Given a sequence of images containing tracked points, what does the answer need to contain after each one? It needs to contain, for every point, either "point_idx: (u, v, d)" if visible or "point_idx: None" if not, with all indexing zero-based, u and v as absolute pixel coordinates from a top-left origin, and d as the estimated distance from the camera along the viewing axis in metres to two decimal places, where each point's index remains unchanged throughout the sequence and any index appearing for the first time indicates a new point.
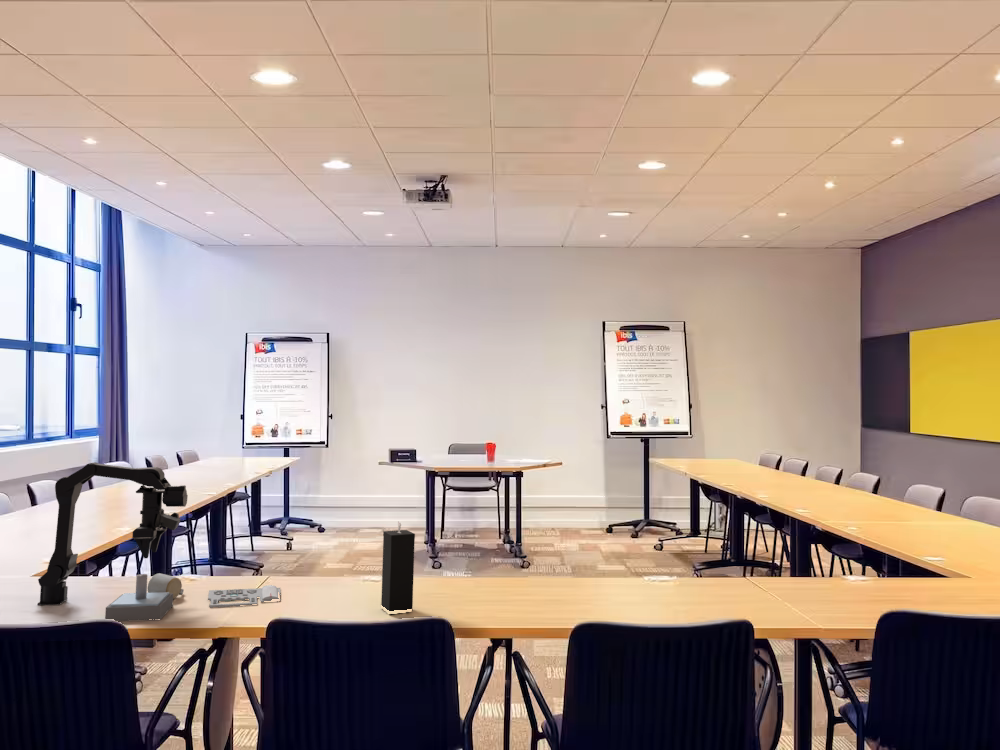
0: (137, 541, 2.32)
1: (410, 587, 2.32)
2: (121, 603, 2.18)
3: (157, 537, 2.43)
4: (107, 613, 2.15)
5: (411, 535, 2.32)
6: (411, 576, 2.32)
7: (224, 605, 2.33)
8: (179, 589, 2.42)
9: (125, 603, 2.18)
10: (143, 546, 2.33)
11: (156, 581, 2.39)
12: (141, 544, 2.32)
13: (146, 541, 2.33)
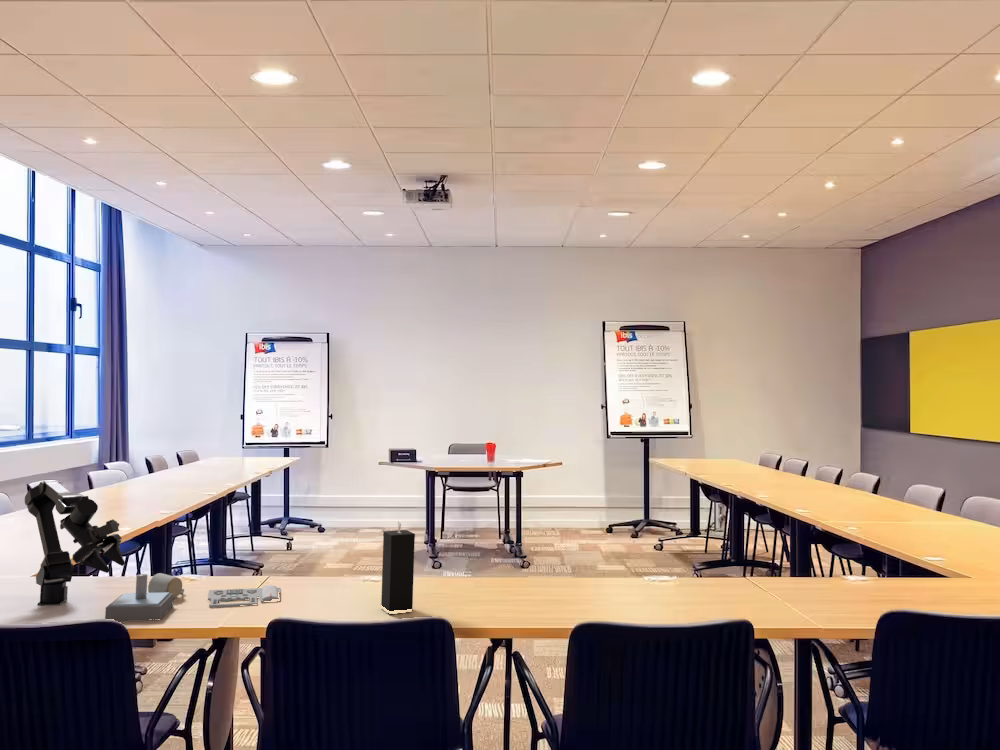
0: (86, 564, 2.18)
1: (410, 587, 2.32)
2: (121, 603, 2.18)
3: (115, 551, 2.29)
4: (107, 613, 2.15)
5: (411, 535, 2.32)
6: (411, 576, 2.32)
7: (224, 605, 2.33)
8: (180, 589, 2.42)
9: (125, 603, 2.18)
10: (96, 564, 2.19)
11: (157, 581, 2.39)
12: (92, 564, 2.18)
13: (94, 558, 2.19)
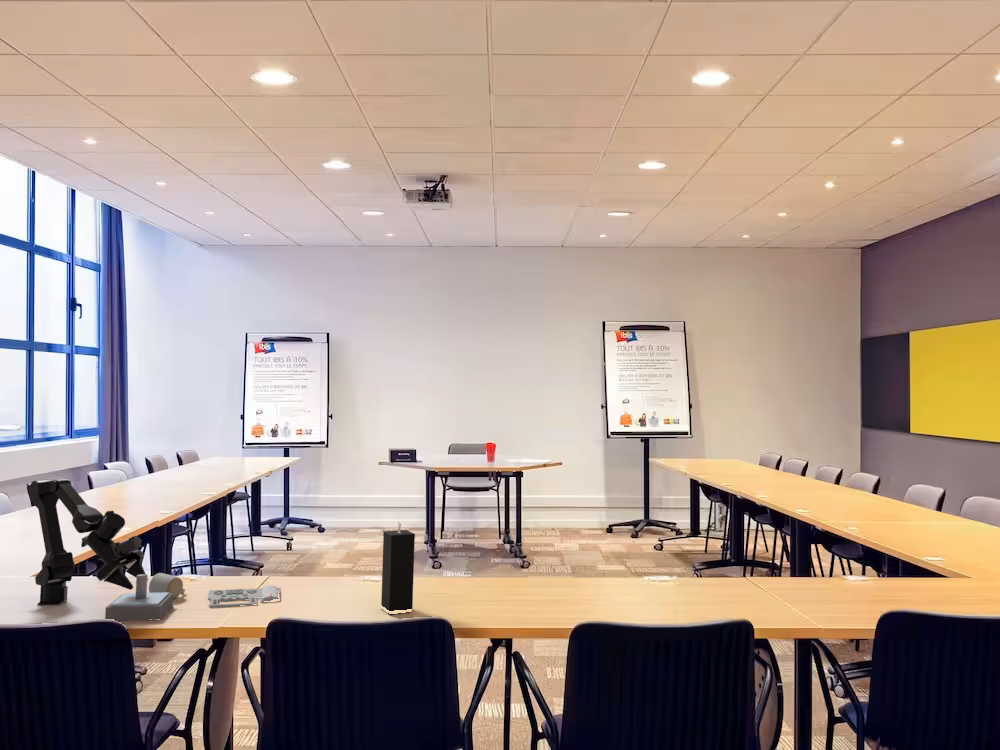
0: (110, 581, 2.17)
1: (410, 587, 2.32)
2: (121, 603, 2.18)
3: (138, 568, 2.29)
4: (107, 613, 2.15)
5: (411, 535, 2.32)
6: (411, 576, 2.32)
7: (224, 605, 2.33)
8: (180, 589, 2.43)
9: (125, 603, 2.18)
10: (120, 581, 2.18)
11: (157, 581, 2.40)
12: (116, 581, 2.18)
13: (118, 575, 2.18)
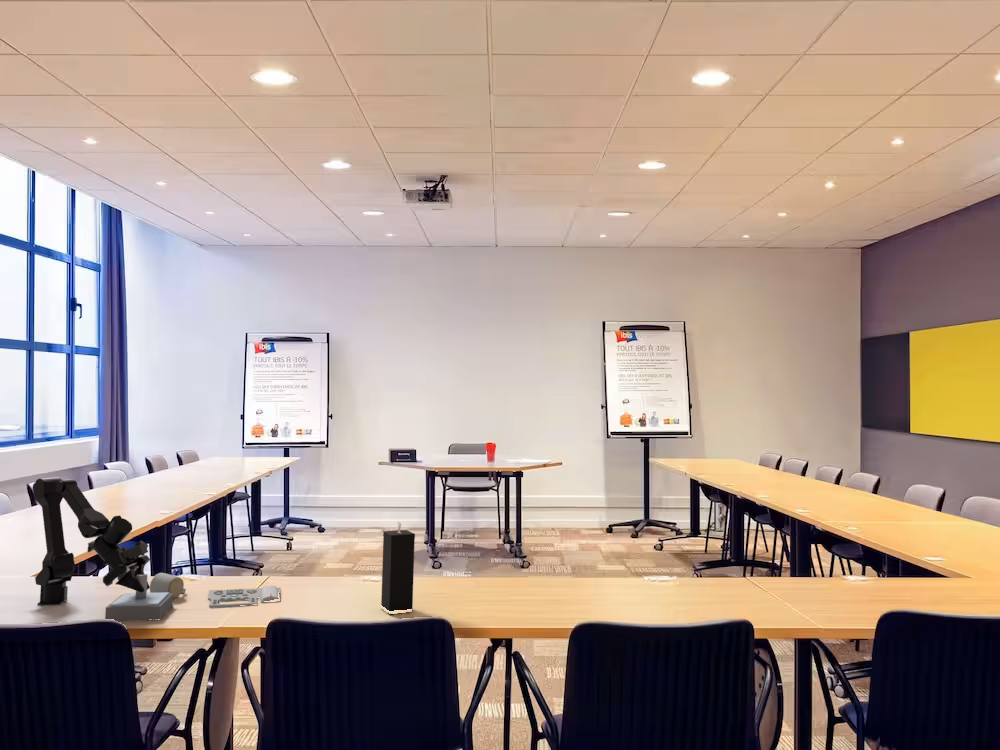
0: (121, 584, 2.20)
1: (410, 587, 2.32)
2: (121, 603, 2.18)
3: None
4: (107, 613, 2.15)
5: (411, 535, 2.32)
6: (411, 576, 2.32)
7: (224, 605, 2.33)
8: (181, 588, 2.43)
9: (125, 603, 2.18)
10: (131, 584, 2.21)
11: (158, 580, 2.40)
12: (127, 583, 2.21)
13: (129, 578, 2.21)
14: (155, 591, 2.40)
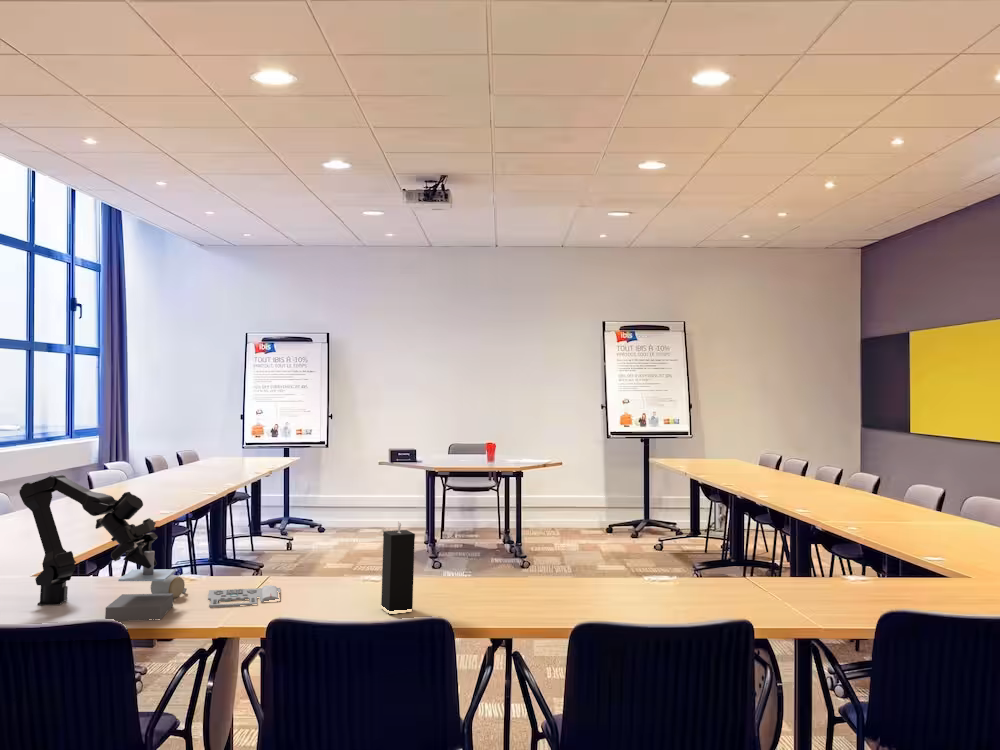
0: (129, 559, 2.25)
1: (410, 587, 2.32)
2: (128, 578, 2.22)
3: None
4: (107, 613, 2.15)
5: (411, 535, 2.32)
6: (411, 576, 2.32)
7: (224, 605, 2.33)
8: (182, 588, 2.43)
9: (132, 578, 2.22)
10: (138, 560, 2.26)
11: None
12: (135, 559, 2.26)
13: (137, 554, 2.26)
14: (156, 591, 2.40)
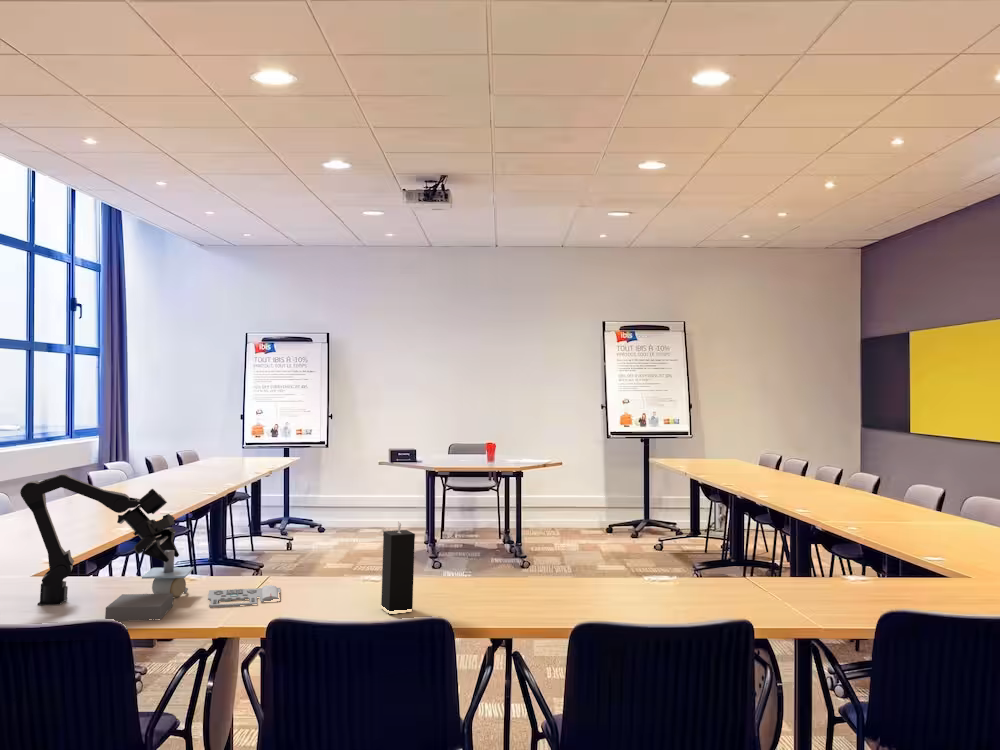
0: (148, 554, 2.38)
1: (410, 587, 2.32)
2: (151, 576, 2.37)
3: (170, 544, 2.48)
4: (107, 613, 2.15)
5: (411, 535, 2.32)
6: (411, 576, 2.32)
7: (224, 605, 2.33)
8: (183, 588, 2.44)
9: (155, 576, 2.37)
10: (157, 554, 2.38)
11: (160, 580, 2.41)
12: (153, 554, 2.38)
13: (155, 548, 2.38)
14: (157, 590, 2.41)
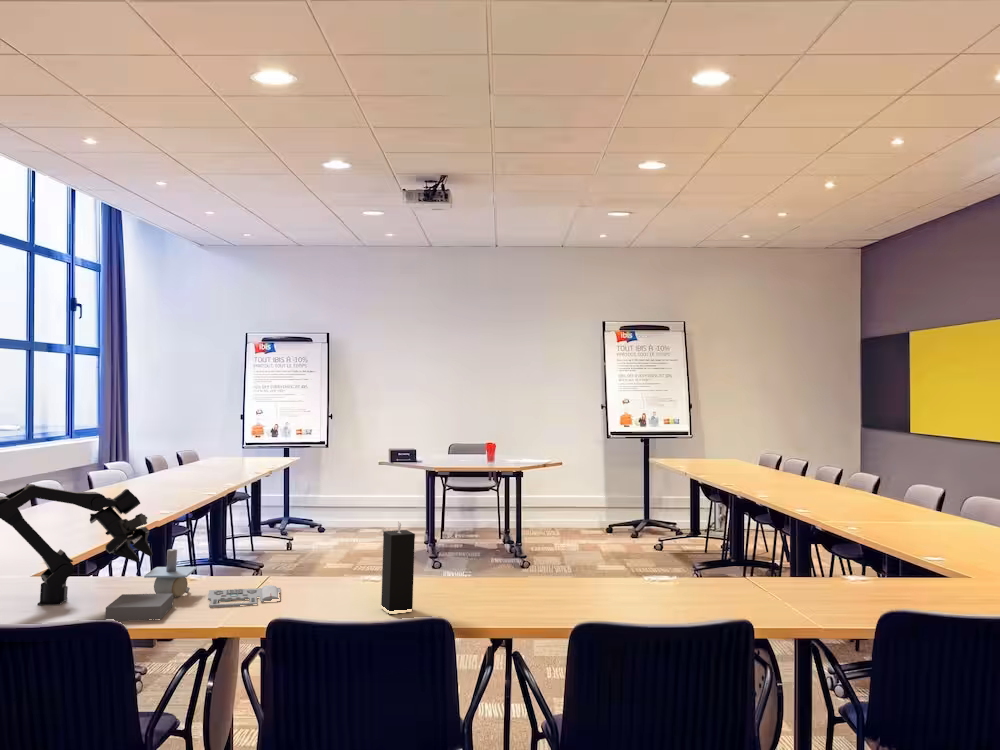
0: (118, 554, 2.37)
1: (410, 587, 2.32)
2: (153, 575, 2.38)
3: (144, 543, 2.48)
4: (107, 613, 2.15)
5: (411, 535, 2.32)
6: (411, 576, 2.32)
7: (224, 605, 2.33)
8: (185, 587, 2.45)
9: (157, 575, 2.38)
10: (127, 554, 2.37)
11: (162, 579, 2.42)
12: (124, 553, 2.37)
13: (125, 548, 2.38)
14: (159, 590, 2.41)
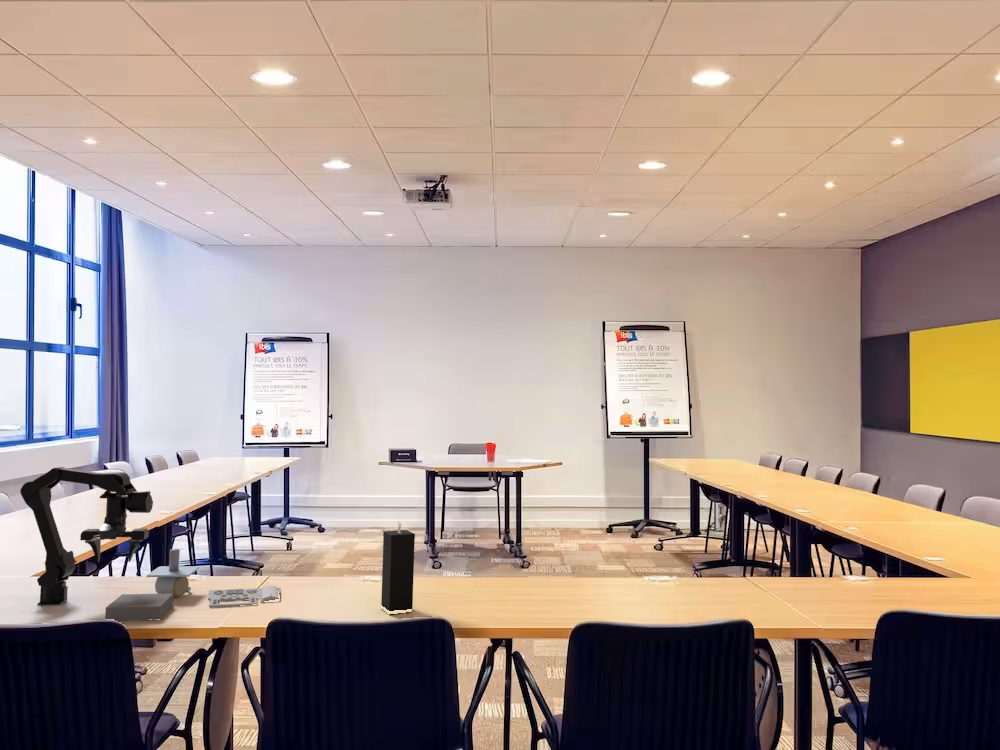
0: None
1: (410, 587, 2.32)
2: (156, 574, 2.39)
3: (130, 546, 2.35)
4: (107, 613, 2.15)
5: (411, 535, 2.32)
6: (411, 576, 2.32)
7: (224, 605, 2.33)
8: (186, 587, 2.45)
9: (159, 574, 2.39)
10: None
11: (163, 579, 2.42)
12: None
13: None
14: (160, 589, 2.42)
